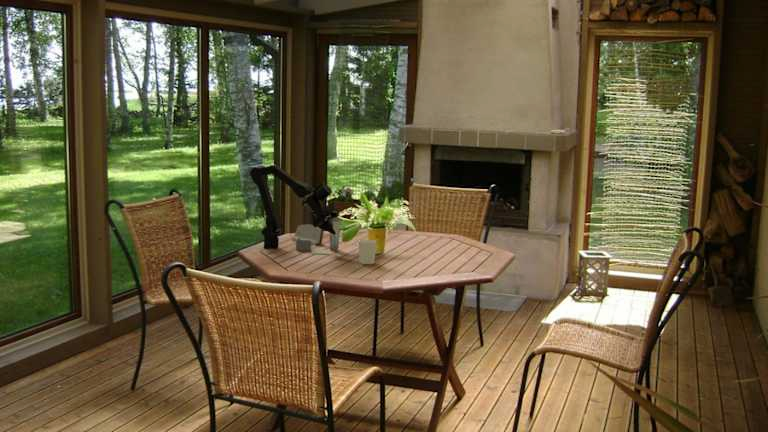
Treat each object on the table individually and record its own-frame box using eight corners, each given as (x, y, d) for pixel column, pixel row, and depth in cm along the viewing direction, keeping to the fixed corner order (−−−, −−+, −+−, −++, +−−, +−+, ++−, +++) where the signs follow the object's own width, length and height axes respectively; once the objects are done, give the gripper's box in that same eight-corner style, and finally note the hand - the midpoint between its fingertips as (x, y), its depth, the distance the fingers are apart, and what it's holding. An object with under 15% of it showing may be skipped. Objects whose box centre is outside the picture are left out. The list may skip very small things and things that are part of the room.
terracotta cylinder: (329, 250, 394) (330, 232, 393) (329, 249, 398) (329, 230, 397) (338, 250, 395) (338, 232, 393) (337, 249, 398) (338, 230, 397)
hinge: (290, 240, 414) (296, 221, 415) (297, 242, 418) (302, 223, 419) (315, 245, 404) (320, 226, 405) (321, 248, 408) (326, 228, 409)
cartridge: (329, 249, 380) (330, 218, 378) (328, 247, 384) (329, 217, 382) (339, 249, 380) (340, 219, 378) (338, 247, 385) (339, 217, 383)
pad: (311, 254, 384) (311, 253, 384) (310, 250, 392) (310, 249, 392) (328, 254, 385) (328, 253, 385) (327, 250, 393) (327, 250, 393)
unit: (296, 250, 390) (296, 238, 390) (295, 248, 395) (296, 237, 394) (310, 250, 391) (311, 239, 390) (310, 248, 396) (310, 237, 395)
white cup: (378, 263, 371) (380, 241, 369) (365, 265, 366) (366, 243, 364) (367, 260, 377) (368, 238, 375) (354, 262, 371) (355, 240, 370)
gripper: (319, 198, 371) (340, 225, 369) (336, 194, 389) (357, 219, 386) (303, 213, 375) (323, 240, 373) (321, 208, 393) (341, 234, 390)
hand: (337, 233), depth 381 cm, fingers closed on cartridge, 4 cm apart
